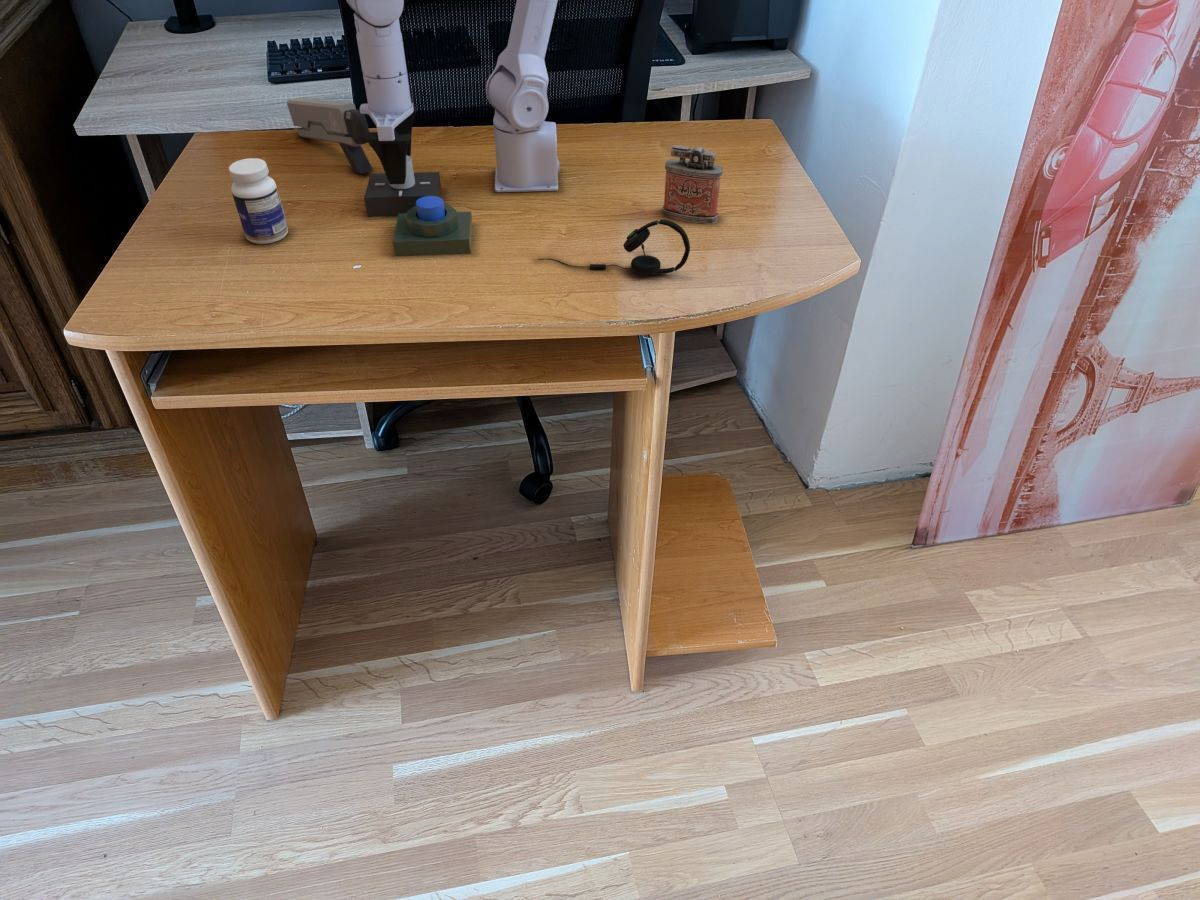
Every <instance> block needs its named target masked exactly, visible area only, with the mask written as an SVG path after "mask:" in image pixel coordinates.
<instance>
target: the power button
mask: <svg viewBox="0 0 1200 900" xmlns="http://www.w3.org/2000/svg"><path fill="white" fill-rule="evenodd" d="M444 204H445V202H444V199H443V198H442V197H441V198H440V197H437V196H425V197H422V198H420V199H418V200H417V201H416V207H417V214H418V218H419V220H424V221H436V220H439V219H442V218H444V217H445V210H444Z"/></svg>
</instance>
